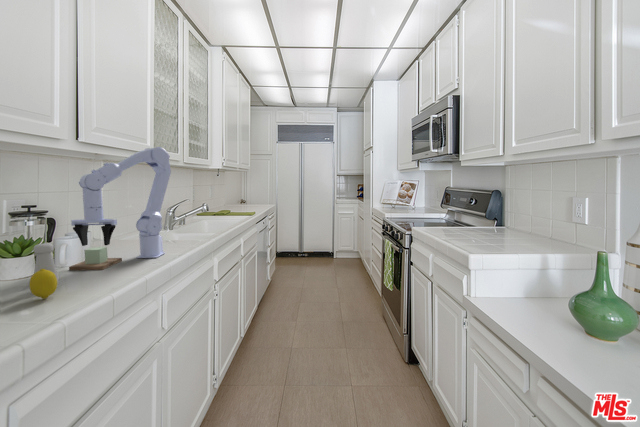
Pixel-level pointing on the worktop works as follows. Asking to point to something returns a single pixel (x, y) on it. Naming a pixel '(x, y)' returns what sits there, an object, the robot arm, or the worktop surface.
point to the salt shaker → (45, 258)
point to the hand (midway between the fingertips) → (95, 245)
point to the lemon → (43, 283)
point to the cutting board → (95, 265)
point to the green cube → (96, 255)
